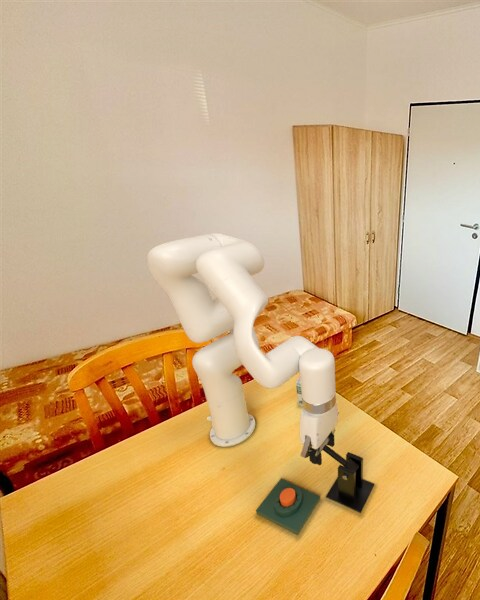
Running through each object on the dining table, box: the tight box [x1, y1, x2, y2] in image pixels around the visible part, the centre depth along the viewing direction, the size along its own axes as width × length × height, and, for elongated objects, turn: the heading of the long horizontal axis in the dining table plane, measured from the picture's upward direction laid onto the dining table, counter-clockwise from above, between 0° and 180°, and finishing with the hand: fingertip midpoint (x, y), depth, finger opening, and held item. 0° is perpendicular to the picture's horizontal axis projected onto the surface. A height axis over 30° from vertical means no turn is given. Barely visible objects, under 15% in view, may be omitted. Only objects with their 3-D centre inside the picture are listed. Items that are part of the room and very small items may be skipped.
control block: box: [255, 477, 321, 536], centre depth 78 cm, size 12×9×4 cm
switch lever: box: [320, 437, 359, 471], centre depth 79 cm, size 11×5×2 cm, turn 71°
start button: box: [280, 488, 296, 507], centre depth 77 cm, size 4×4×2 cm
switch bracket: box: [325, 451, 375, 514], centre depth 81 cm, size 10×8×12 cm
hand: (322, 452), depth 81 cm, fingers closed on switch lever, 5 cm apart
